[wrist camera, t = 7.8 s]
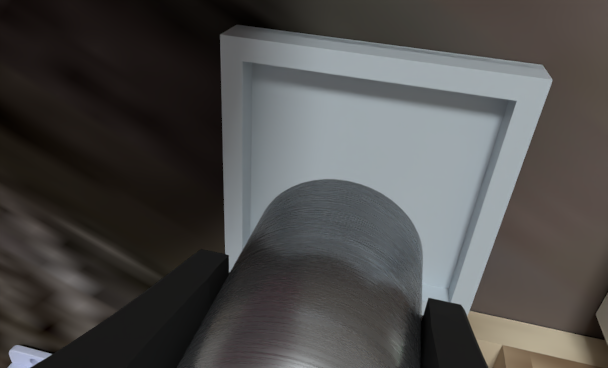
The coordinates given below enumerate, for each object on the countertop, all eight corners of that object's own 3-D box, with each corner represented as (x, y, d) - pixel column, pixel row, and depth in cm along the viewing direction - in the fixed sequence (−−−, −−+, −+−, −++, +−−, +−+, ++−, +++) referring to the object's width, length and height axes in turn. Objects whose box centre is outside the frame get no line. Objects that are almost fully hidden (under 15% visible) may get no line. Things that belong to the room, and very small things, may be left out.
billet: (255, 294, 13) (136, 552, 7) (259, 164, 10) (100, 397, 5) (405, 329, 12) (386, 636, 7) (440, 198, 10) (452, 497, 5)
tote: (238, 249, 17) (225, 271, 16) (236, 24, 13) (220, 34, 12) (462, 298, 16) (464, 324, 15) (542, 64, 12) (552, 80, 11)
